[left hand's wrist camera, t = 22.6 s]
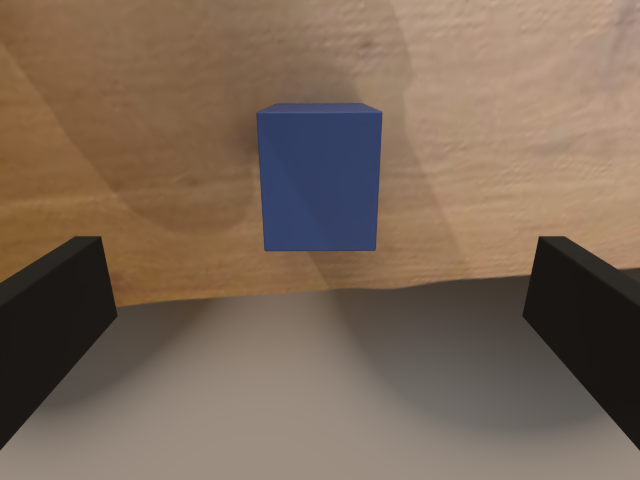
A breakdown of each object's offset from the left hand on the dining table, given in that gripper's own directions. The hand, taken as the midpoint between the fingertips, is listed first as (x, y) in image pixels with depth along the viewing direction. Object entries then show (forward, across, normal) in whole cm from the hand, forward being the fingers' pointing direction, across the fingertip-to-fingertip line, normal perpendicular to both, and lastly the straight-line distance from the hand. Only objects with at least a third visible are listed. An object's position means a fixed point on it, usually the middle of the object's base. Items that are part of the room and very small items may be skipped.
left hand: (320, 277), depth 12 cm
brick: (+22, 0, 0) cm, 22 cm away
